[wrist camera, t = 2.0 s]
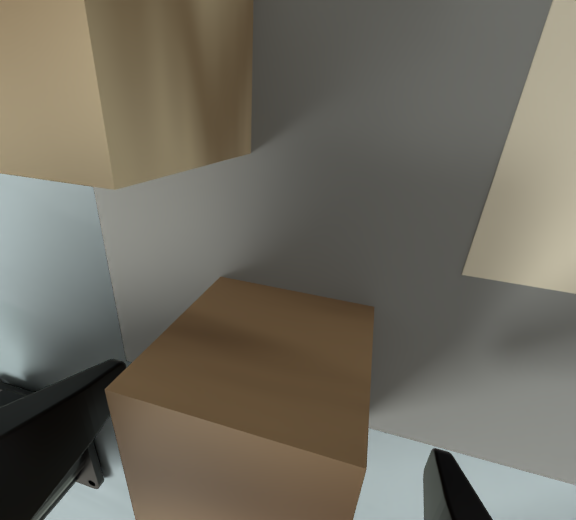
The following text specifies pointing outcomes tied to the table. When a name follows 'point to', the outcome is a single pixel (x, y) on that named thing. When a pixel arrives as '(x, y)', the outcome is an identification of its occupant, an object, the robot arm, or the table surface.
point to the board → (395, 211)
